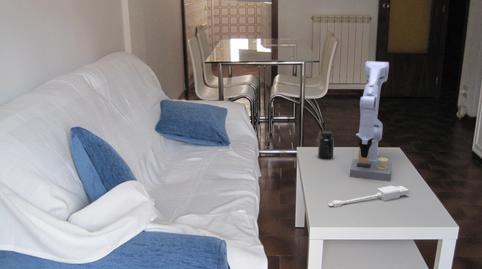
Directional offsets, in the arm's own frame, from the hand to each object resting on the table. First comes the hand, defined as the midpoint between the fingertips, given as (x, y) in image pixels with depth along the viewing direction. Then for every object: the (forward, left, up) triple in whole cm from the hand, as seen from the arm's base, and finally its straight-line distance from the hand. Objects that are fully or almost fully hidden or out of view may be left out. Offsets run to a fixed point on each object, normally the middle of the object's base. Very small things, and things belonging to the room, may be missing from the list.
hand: (364, 155), depth 206 cm
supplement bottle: (-14, -18, -8) cm, 24 cm away
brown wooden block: (0, 0, -3) cm, 3 cm away
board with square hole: (0, +3, -7) cm, 8 cm away
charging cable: (+28, +4, -8) cm, 30 cm away
